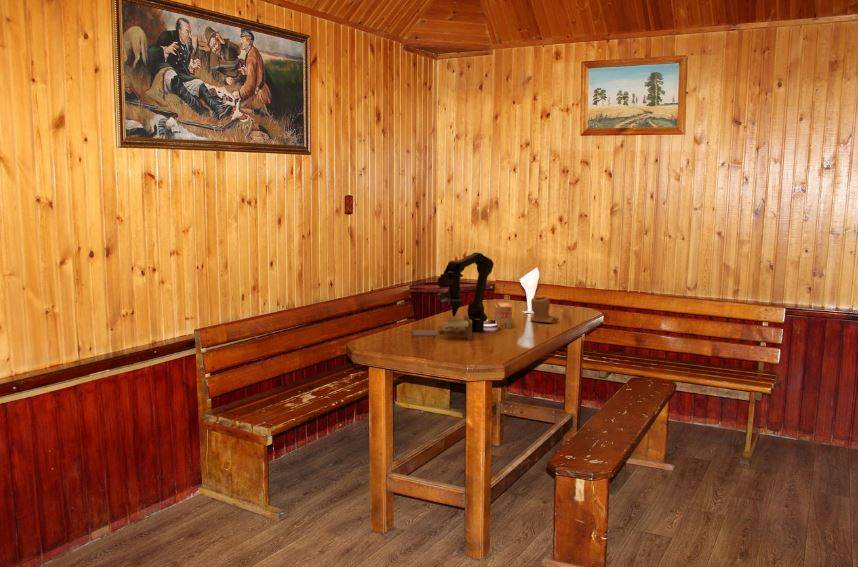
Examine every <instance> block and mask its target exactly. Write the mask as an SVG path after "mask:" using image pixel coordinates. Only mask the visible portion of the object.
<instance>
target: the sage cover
mask: <svg viewBox="0 0 858 567" xmlns="http://www.w3.org/2000/svg"><path fill="white" fill-rule="evenodd" d="M443 324H444V326H469V323H468V321H464V317H463V318H462V317H460V318H459V317H448V318H447V319H446V320H443Z"/></svg>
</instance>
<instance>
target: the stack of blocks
mask: <svg viewBox="0 0 858 567" xmlns="http://www.w3.org/2000/svg"><path fill="white" fill-rule="evenodd" d="M512 317H513V306H512V305H511V304H510V303H509V302H497V305H494V321H495V320H496V321H497V323H498V325H499V326H498V325H497V326H498V328H499V327H500V328H499V329H512Z"/></svg>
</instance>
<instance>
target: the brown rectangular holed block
mask: <svg viewBox="0 0 858 567" xmlns="http://www.w3.org/2000/svg"><path fill="white" fill-rule="evenodd" d="M463 318H464V321H468V323H469V326H457V329H456V330H447V326H445V325H438V326H437V331H438V335H440V336H441V335H443V336H444V335H452V336H453V335H455V336H456V335H458V336H459V335H460V336H461V335H462V336H466V338H467V340H468V341H473V340H472V338H473V336H472V335H473V332H472V320H470V319H469V317H468V314H467V313H466V314H464V317H463Z"/></svg>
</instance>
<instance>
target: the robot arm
mask: <svg viewBox="0 0 858 567" xmlns="http://www.w3.org/2000/svg"><path fill="white" fill-rule="evenodd" d="M472 264H475V265H476V270H477V273H478V274H477V281H476V286H475V290H474V291H475V292H474V295H473V300H472V301H471V303H470V302H469V303H468V305H467V306H468V307H467V309H466V311H467V313H466V314H467V315H468V317H469V319H470V320H471V322H472V333H485V332H484V328H485V327H484V326H485V323H486V321H487V320H488V316H487V315H486V312H485V306H484V303H483V302H484V297H485V291H486V286H487V282H488V278H489V277H488V276H490V274H491V273H492V272H493V268H494V265H495V264H494V261H493V259H491V258H489V257H487V256H486V255H484V254H483V253H482V252H472V254H470V255H468V256H465V257H463V258H460V259H456V260H455V259H454V260H450V261H448V263H447V264H446V268H445V269H444V271H443V273H440V277H438V279H437V280H436V281H437V286H438V287H439V288H440V289H444V288H447V290H444V291H442V292H439V293H437V297H438V300H439V301H443V300H445V299H446V301H447V303H448V305H449V306H450V309H451V314H452V315H451V316H452V317H456V315H457V314H458V313H457V312H458V310H459V308H460V306H462V304H463V301H462V300H461V278H463V277H464V275H463V274H462V272H464V270H465V269H466V268H467V267H469V266H471V265H472Z"/></svg>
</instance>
